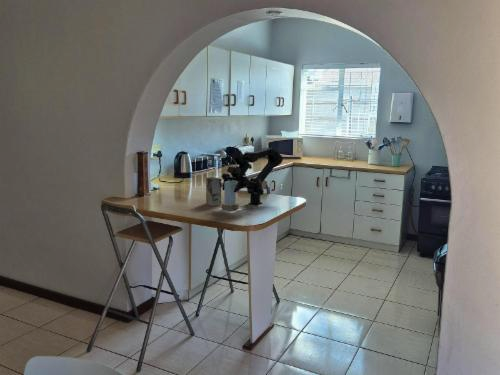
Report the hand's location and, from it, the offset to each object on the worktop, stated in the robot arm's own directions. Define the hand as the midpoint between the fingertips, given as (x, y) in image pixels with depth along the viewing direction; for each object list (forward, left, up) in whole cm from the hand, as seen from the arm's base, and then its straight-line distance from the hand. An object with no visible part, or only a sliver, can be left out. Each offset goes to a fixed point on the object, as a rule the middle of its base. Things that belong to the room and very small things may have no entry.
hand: (228, 191), depth 257 cm
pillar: (-1, 0, -8) cm, 8 cm away
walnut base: (-1, 0, -11) cm, 11 cm away
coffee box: (-7, -17, -11) cm, 22 cm away
